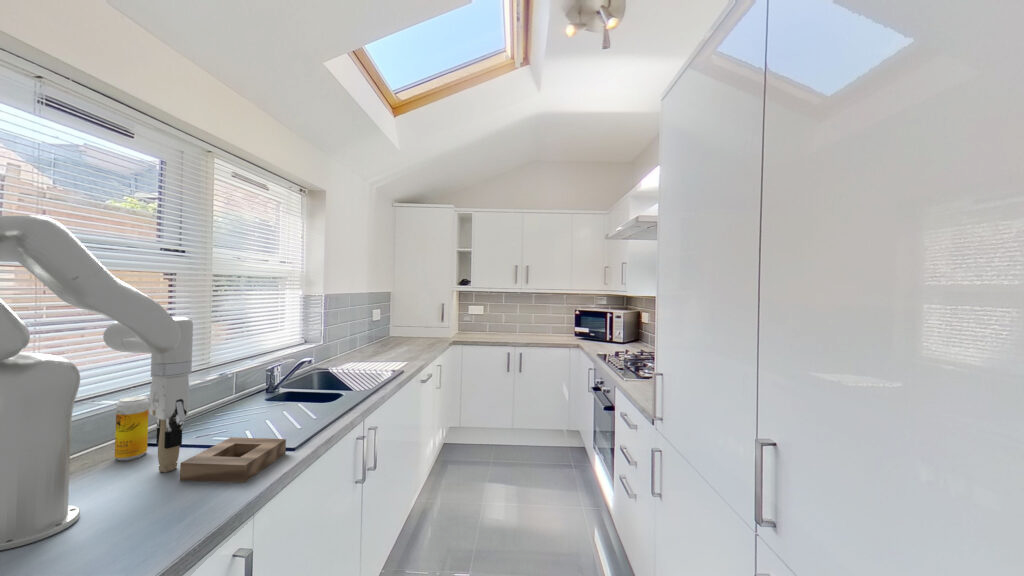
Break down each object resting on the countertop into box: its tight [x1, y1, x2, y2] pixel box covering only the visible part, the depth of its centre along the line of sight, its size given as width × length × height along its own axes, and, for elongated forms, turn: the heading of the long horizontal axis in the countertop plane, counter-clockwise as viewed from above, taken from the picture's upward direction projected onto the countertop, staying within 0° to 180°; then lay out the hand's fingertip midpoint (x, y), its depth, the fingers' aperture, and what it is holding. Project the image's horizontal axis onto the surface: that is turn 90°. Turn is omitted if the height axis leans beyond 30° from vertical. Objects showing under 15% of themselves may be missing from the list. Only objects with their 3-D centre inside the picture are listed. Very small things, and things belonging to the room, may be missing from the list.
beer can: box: [114, 395, 150, 461], centre depth 102 cm, size 6×6×15 cm
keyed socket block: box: [179, 436, 287, 483], centre depth 98 cm, size 16×15×4 cm
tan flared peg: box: [152, 407, 185, 473], centre depth 95 cm, size 5×6×15 cm
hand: (169, 443), depth 95 cm, fingers closed on tan flared peg, 3 cm apart
